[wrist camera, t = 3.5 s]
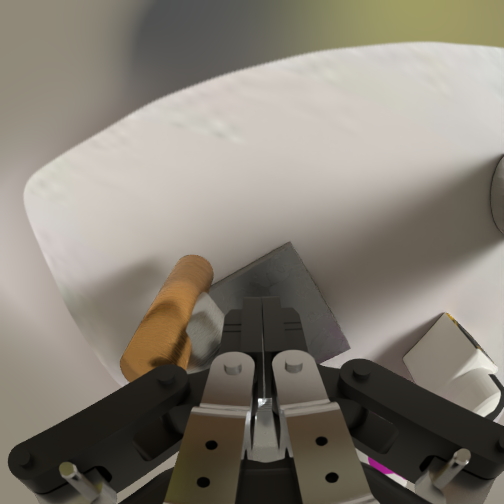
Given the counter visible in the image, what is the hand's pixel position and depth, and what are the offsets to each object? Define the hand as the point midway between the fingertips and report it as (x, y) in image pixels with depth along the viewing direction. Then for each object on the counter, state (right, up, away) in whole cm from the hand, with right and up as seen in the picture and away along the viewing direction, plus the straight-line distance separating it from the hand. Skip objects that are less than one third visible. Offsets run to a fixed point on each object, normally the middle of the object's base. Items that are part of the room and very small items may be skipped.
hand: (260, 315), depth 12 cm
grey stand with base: (+1, -4, +14) cm, 14 cm away
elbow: (-1, -3, +8) cm, 9 cm away
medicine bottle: (+21, -8, +15) cm, 27 cm away
